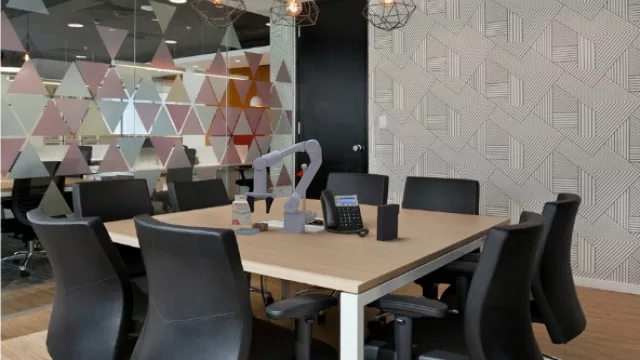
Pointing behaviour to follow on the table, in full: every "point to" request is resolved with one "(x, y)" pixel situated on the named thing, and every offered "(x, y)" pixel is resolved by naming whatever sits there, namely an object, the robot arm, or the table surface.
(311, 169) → the robot arm
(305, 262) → the table surface
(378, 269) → the table surface
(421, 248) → the table surface
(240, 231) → the tray
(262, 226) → the brown wooden frame
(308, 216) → the flag stand
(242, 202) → the ink cartridge box
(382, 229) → the upright black prism
